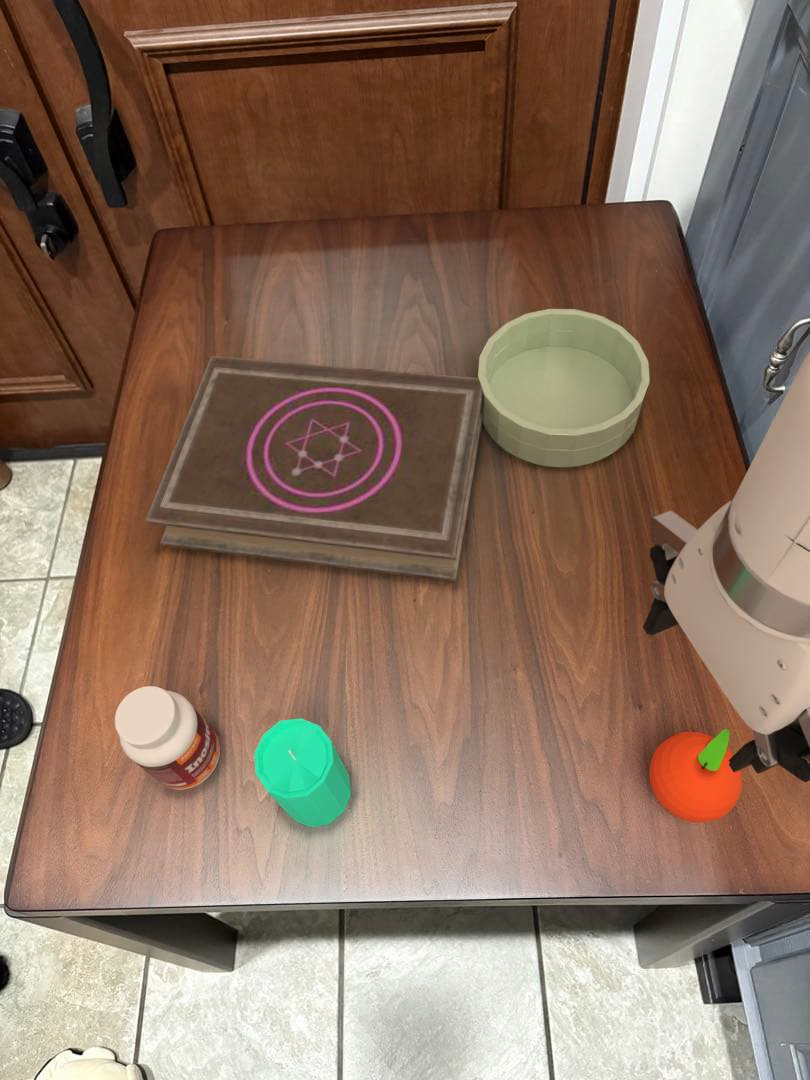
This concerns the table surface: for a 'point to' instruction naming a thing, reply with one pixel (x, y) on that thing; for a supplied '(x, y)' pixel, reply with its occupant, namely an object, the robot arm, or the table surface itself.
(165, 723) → the pill bottle
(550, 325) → the bowl
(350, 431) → the book
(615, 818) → the table surface
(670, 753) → the clementine
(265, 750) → the candle
